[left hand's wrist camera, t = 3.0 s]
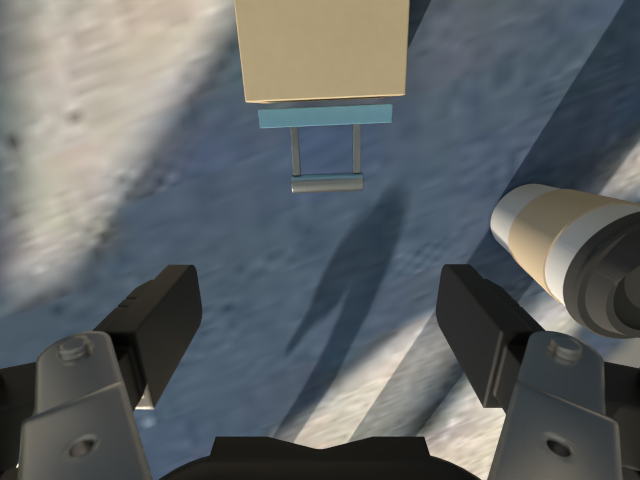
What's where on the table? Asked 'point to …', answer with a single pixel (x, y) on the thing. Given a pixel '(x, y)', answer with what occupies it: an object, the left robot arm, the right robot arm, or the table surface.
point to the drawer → (326, 117)
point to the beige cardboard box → (322, 49)
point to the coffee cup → (577, 252)
